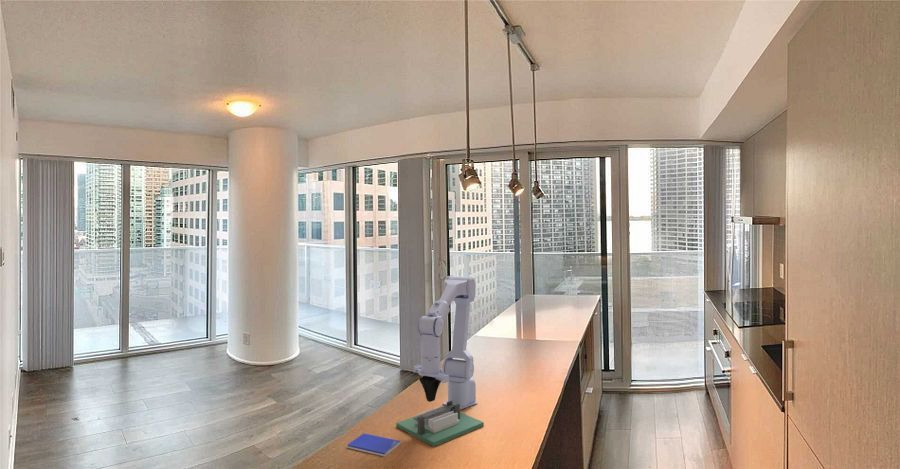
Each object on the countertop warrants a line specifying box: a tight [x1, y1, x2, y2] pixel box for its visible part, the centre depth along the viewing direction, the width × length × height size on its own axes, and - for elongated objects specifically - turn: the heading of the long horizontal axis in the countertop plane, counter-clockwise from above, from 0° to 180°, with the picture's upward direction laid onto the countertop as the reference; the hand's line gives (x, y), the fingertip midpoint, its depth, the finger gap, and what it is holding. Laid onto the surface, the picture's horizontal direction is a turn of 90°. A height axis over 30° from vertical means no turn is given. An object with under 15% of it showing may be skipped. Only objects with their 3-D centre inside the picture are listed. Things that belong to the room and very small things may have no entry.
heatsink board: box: [395, 401, 485, 447], centre depth 147 cm, size 20×18×6 cm
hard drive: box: [347, 433, 402, 457], centre depth 135 cm, size 2×8×12 cm
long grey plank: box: [413, 404, 454, 421], centre depth 146 cm, size 15×2×1 cm, turn 132°
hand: (430, 400), depth 144 cm, fingers closed
